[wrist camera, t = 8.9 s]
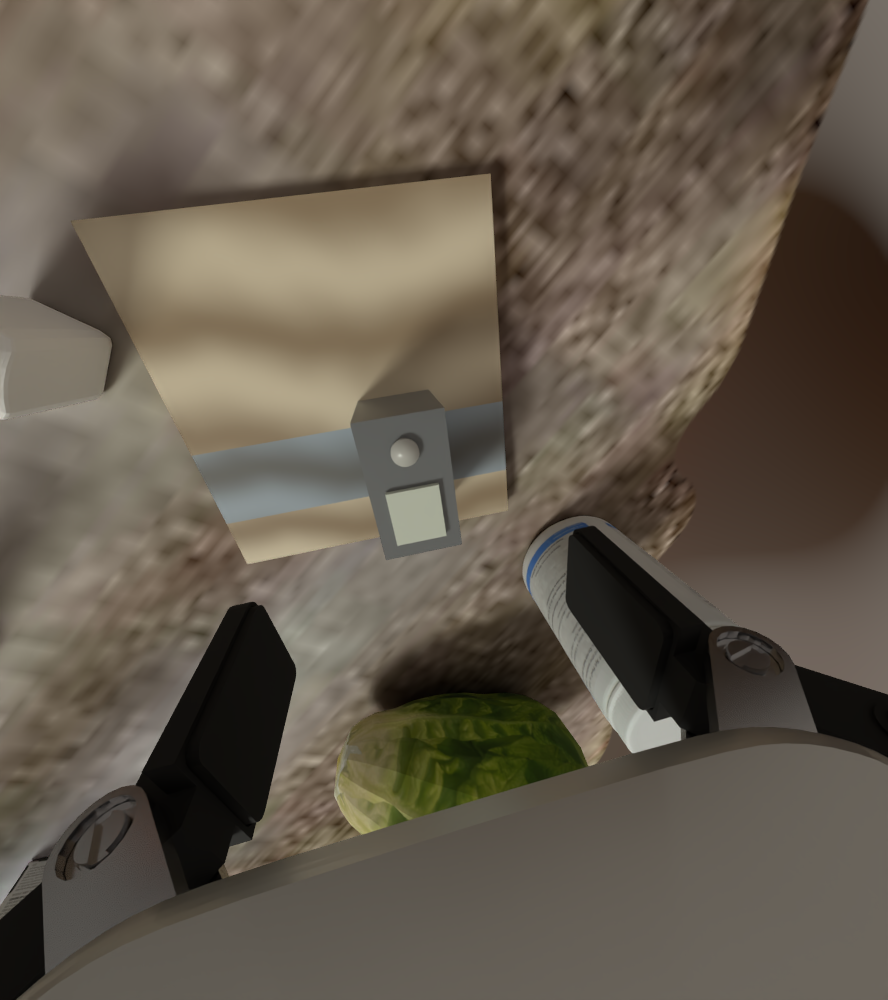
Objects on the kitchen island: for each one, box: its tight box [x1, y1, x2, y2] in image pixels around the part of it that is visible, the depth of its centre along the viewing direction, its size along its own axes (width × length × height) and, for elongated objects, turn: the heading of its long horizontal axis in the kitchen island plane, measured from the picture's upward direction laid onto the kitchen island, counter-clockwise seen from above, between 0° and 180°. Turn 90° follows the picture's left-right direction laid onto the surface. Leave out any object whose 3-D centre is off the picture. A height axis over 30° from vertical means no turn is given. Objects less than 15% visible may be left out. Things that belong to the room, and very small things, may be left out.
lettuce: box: [334, 692, 588, 835], centre depth 32 cm, size 17×23×16 cm
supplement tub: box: [523, 516, 740, 753], centre depth 25 cm, size 10×10×15 cm
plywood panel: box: [71, 173, 508, 564], centre depth 21 cm, size 20×20×1 cm
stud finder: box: [350, 390, 462, 560], centre depth 20 cm, size 8×4×6 cm, turn 7°
